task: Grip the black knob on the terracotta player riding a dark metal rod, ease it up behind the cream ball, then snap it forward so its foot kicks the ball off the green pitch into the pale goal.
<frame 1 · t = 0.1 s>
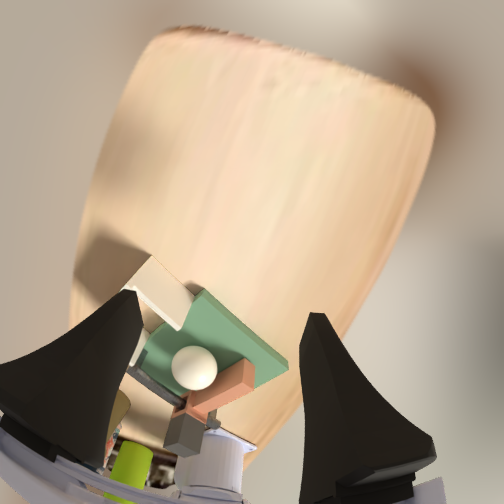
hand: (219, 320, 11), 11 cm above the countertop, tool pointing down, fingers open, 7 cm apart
player: (210, 410, 21), point 5 cm above the countertop, slide at 0.0 cm
ball: (194, 367, 22), point 3 cm above the countertop, touching pitch
goal: (148, 299, 23), on the countertop
cork: (111, 395, 30), on the countertop
soap dispenser: (140, 449, 36), on the countertop
beer can: (109, 417, 33), on the countertop
pitch: (201, 360, 26), on the countertop
rod: (183, 372, 27), resting on pitch
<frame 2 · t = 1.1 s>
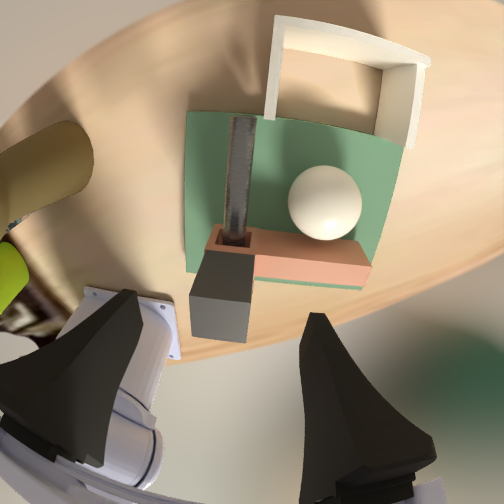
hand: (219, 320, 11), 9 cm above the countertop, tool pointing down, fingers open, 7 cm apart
player: (292, 277, 14), point 5 cm above the countertop, slide at 0.0 cm
ball: (325, 202, 14), point 3 cm above the countertop, touching pitch
goal: (330, 86, 14), on the countertop
cork: (66, 158, 17), on the countertop
soap dispenser: (16, 266, 23), on the countertop
pitch: (287, 203, 18), on the countertop
rod: (241, 198, 18), resting on pitch
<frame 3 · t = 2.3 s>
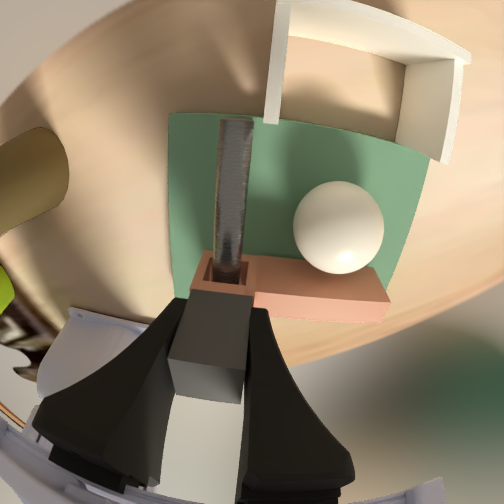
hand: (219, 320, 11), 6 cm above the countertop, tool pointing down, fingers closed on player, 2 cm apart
player: (297, 318, 11), point 5 cm above the countertop, slide at 0.0 cm, touching gripper
ball: (338, 227, 11), point 3 cm above the countertop, touching pitch
goal: (345, 82, 11), on the countertop
cork: (41, 168, 14), on the countertop
soap dispenser: (1, 281, 20), on the countertop
pitch: (292, 222, 15), on the countertop
rod: (237, 216, 15), resting on pitch
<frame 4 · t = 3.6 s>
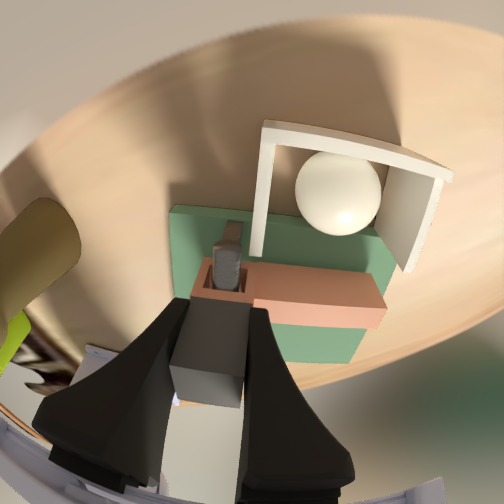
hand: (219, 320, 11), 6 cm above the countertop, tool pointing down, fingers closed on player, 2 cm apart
player: (295, 325, 12), point 5 cm above the countertop, slide at 4.7 cm, touching gripper
ball: (338, 191, 12), point 2 cm above the countertop, tilted 147°
goal: (330, 176, 13), on the countertop
cork: (53, 233, 17), on the countertop
soap dispenser: (17, 315, 23), on the countertop
pitch: (278, 294, 18), on the countertop
rod: (232, 289, 18), resting on pitch
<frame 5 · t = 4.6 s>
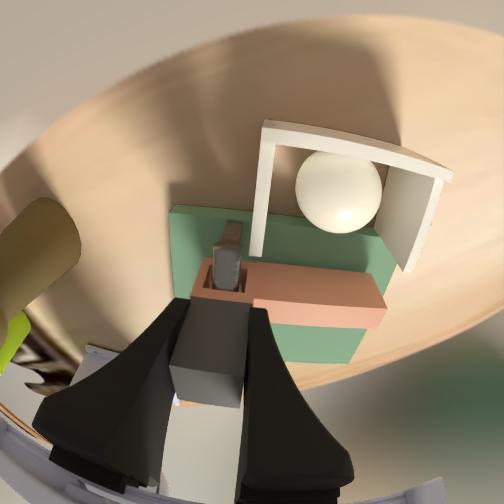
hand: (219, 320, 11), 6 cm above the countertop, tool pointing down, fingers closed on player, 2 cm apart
player: (295, 325, 12), point 5 cm above the countertop, slide at 4.7 cm, touching gripper
ball: (338, 189, 12), point 2 cm above the countertop, tilted 143°
goal: (330, 176, 13), on the countertop
cork: (53, 233, 17), on the countertop
soap dispenser: (17, 315, 23), on the countertop
pitch: (278, 294, 18), on the countertop
rod: (232, 289, 18), resting on pitch
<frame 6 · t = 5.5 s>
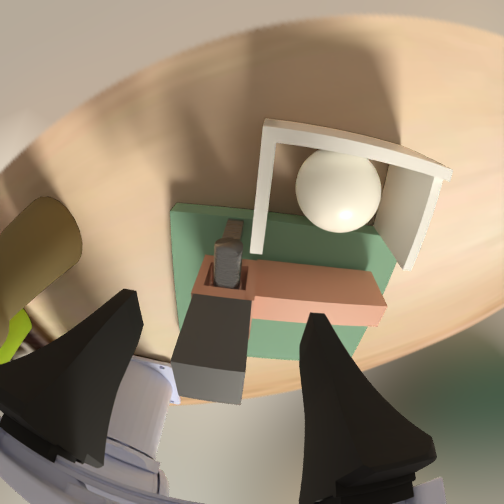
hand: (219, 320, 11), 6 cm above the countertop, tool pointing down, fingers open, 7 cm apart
player: (296, 322, 12), point 5 cm above the countertop, slide at 4.7 cm
ball: (338, 189, 12), point 2 cm above the countertop, tilted 145°
goal: (330, 175, 14), on the countertop
cork: (54, 232, 17), on the countertop
soap dispenser: (18, 313, 23), on the countertop
pitch: (279, 292, 18), on the countertop
rod: (232, 287, 18), resting on pitch
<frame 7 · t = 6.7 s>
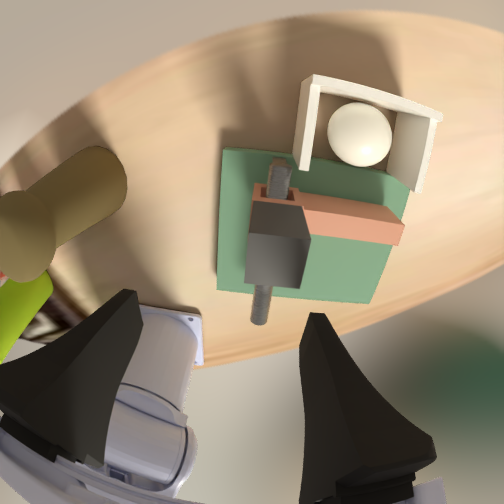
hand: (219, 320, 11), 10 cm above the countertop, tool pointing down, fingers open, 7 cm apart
player: (335, 231, 14), point 5 cm above the countertop, slide at 4.7 cm
ball: (359, 134, 14), point 2 cm above the countertop, tilted 148°
goal: (351, 127, 16), on the countertop
cork: (97, 181, 19), on the countertop
soap dispenser: (39, 279, 25), on the countertop
pitch: (309, 230, 20), on the countertop
rod: (268, 226, 20), resting on pitch
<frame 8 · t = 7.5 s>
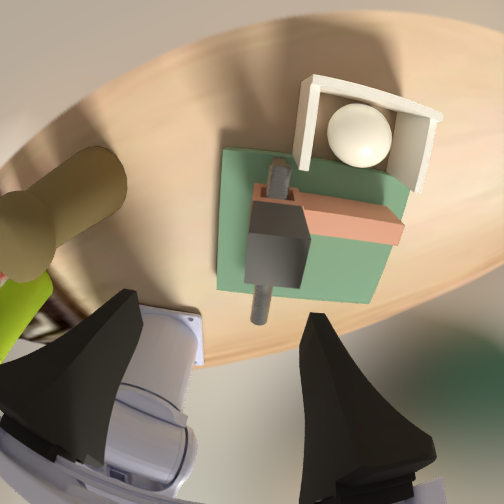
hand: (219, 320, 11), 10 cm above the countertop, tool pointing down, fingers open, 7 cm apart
player: (335, 231, 14), point 5 cm above the countertop, slide at 4.7 cm
ball: (359, 135, 14), point 2 cm above the countertop, tilted 150°
goal: (351, 127, 16), on the countertop
cork: (97, 181, 19), on the countertop
soap dispenser: (39, 279, 25), on the countertop
pitch: (309, 230, 20), on the countertop
rod: (268, 226, 20), resting on pitch
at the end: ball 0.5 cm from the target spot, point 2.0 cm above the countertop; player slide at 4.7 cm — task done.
